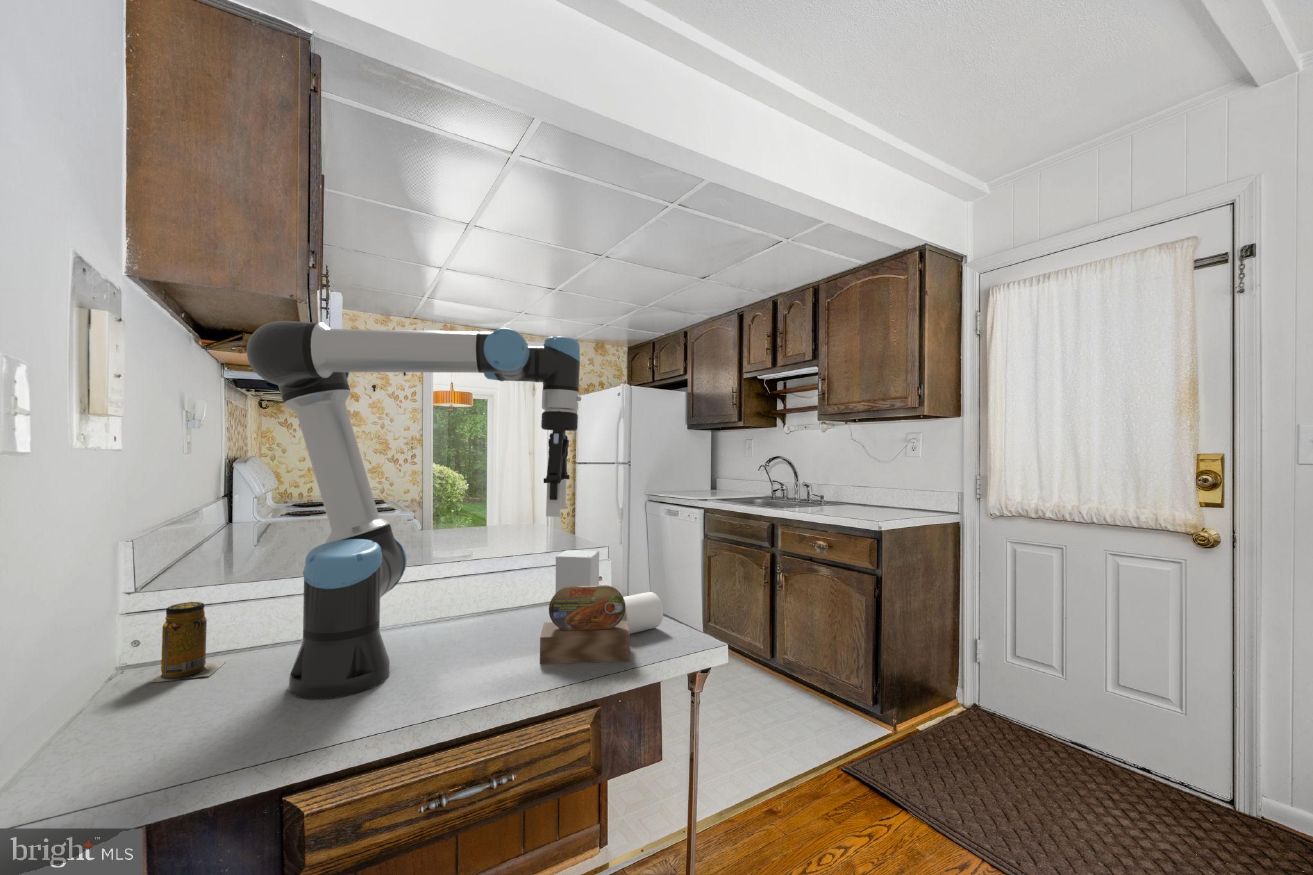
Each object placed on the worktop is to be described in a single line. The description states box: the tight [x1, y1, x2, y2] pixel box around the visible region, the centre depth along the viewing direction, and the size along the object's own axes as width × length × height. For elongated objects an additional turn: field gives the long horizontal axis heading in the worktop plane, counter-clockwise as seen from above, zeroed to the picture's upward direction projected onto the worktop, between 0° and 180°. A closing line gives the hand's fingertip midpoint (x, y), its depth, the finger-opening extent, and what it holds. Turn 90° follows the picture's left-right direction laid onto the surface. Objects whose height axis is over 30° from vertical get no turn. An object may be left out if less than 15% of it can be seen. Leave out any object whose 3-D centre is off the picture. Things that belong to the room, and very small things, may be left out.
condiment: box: [149, 601, 226, 683], centre depth 99 cm, size 7×8×12 cm
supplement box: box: [555, 549, 600, 594], centre depth 138 cm, size 9×9×15 cm
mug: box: [621, 591, 664, 635], centre depth 127 cm, size 12×10×8 cm
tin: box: [548, 584, 625, 631], centre depth 111 cm, size 15×3×8 cm, turn 97°
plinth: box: [539, 621, 631, 665], centre depth 111 cm, size 17×9×5 cm, turn 97°
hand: (556, 512), depth 117 cm, fingers open, 13 cm apart
